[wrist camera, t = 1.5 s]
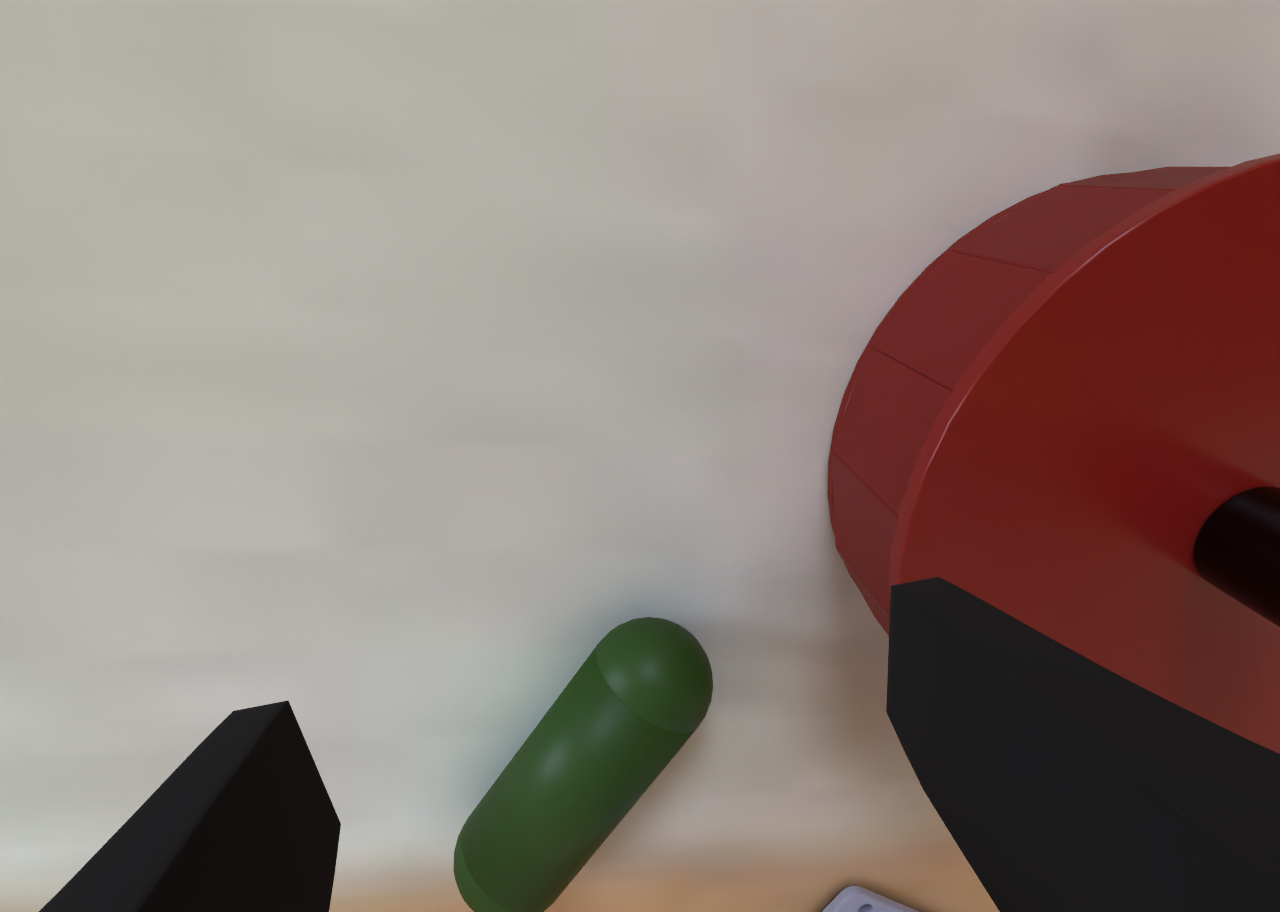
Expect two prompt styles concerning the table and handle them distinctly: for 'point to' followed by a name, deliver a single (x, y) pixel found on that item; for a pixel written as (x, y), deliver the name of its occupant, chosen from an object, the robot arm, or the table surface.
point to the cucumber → (583, 766)
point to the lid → (1130, 456)
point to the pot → (953, 350)
